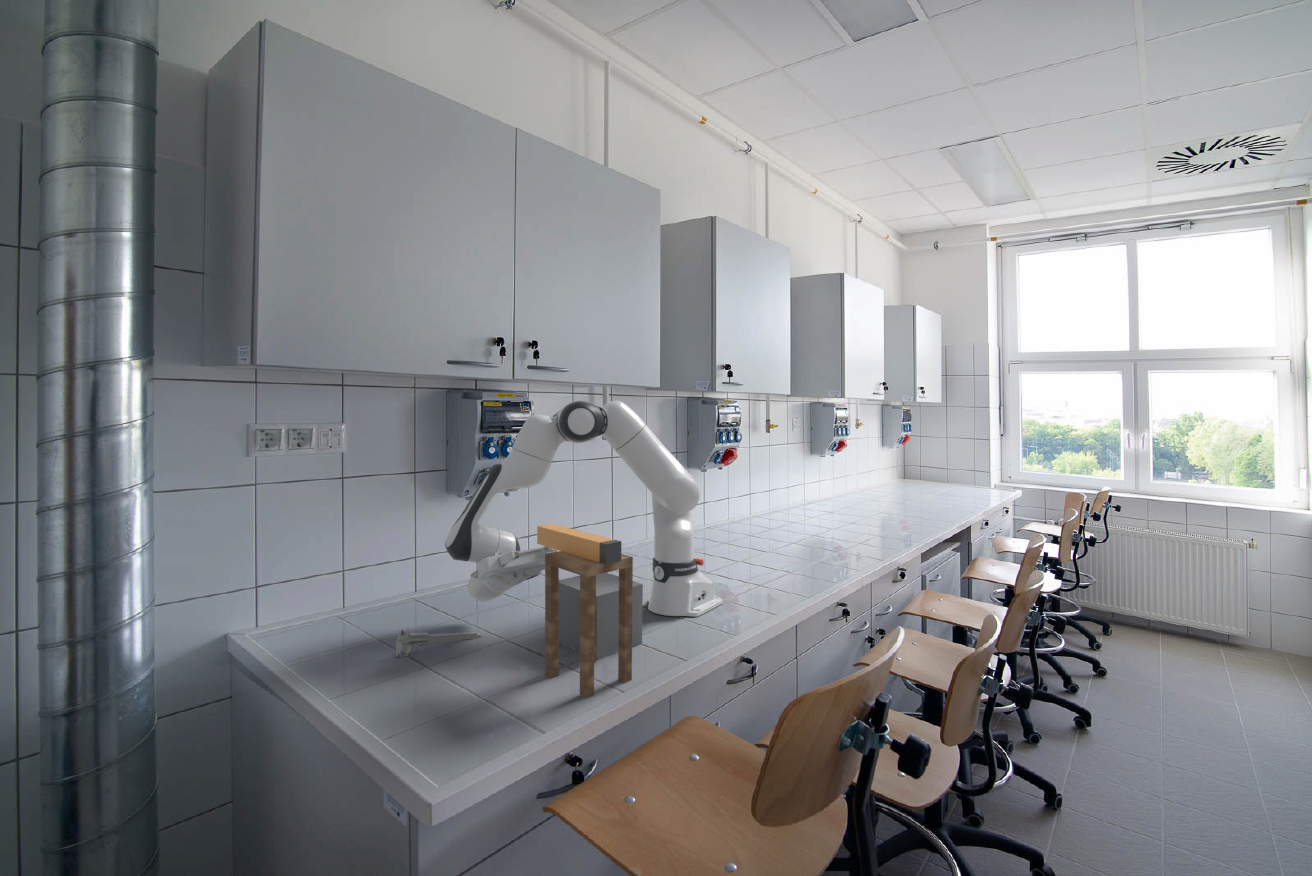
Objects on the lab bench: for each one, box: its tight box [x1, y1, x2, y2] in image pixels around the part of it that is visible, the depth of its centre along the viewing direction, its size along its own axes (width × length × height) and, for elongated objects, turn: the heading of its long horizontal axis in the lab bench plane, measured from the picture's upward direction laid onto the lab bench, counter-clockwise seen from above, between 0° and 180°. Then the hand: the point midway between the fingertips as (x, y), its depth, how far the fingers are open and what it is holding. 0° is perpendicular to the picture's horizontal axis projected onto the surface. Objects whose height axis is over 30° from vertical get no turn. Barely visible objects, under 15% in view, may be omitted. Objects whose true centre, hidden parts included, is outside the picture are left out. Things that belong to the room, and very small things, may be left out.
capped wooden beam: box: [536, 523, 622, 564], centre depth 134 cm, size 4×24×4 cm, turn 44°
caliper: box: [395, 628, 483, 658], centre depth 149 cm, size 20×1×6 cm, turn 132°
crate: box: [559, 572, 644, 661], centre depth 152 cm, size 14×16×14 cm
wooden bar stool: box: [544, 550, 634, 699], centre depth 132 cm, size 12×14×26 cm
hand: (533, 550), depth 146 cm, fingers open, 8 cm apart
